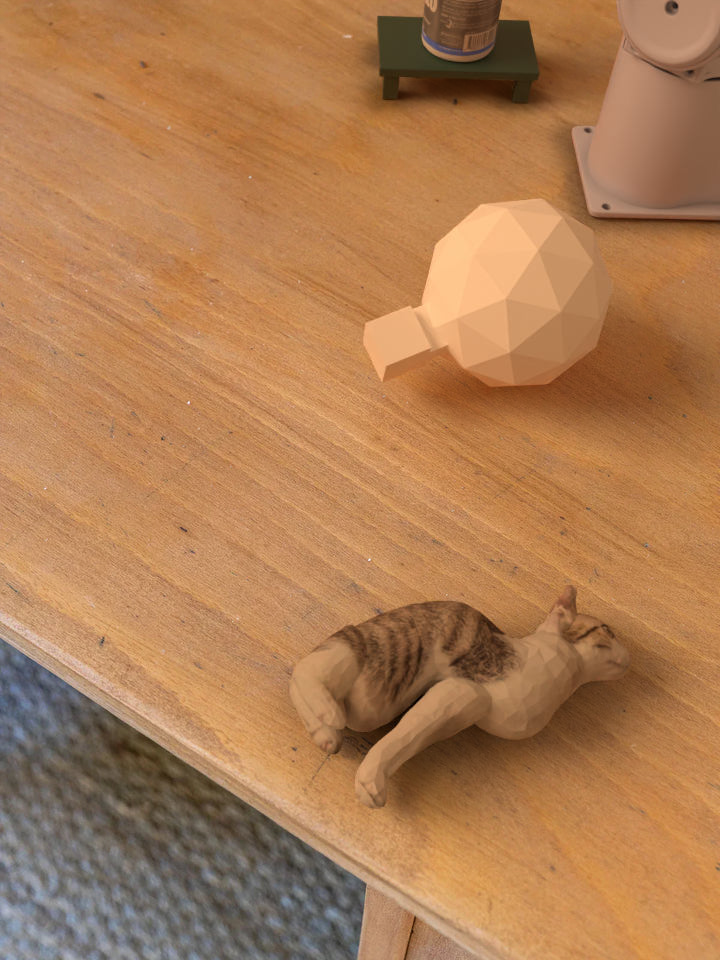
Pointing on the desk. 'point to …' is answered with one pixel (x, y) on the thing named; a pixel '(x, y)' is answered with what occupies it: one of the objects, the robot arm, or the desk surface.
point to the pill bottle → (460, 28)
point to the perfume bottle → (502, 299)
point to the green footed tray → (412, 59)
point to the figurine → (446, 679)
